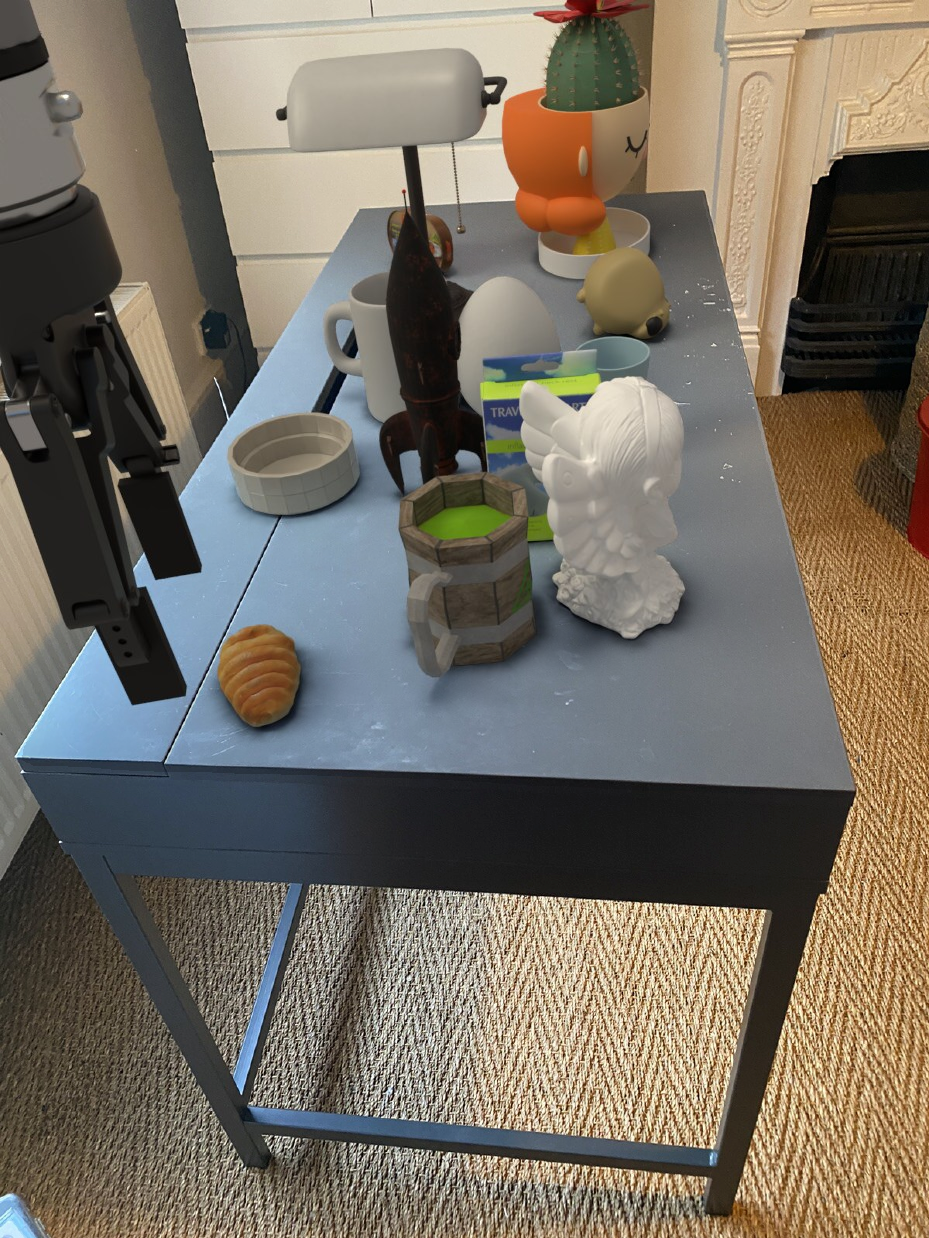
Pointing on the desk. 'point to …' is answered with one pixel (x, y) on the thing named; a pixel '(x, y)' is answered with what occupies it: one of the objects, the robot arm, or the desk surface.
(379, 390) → the mug
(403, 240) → the toy rocket
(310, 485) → the bowl
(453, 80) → the lamp
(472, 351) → the decorative egg
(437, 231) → the tin
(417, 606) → the mug
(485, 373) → the box
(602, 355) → the cup
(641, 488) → the cherub figurine
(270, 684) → the pastry
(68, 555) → the robot arm
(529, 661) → the desk surface
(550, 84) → the potted cactus
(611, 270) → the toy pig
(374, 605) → the desk surface
